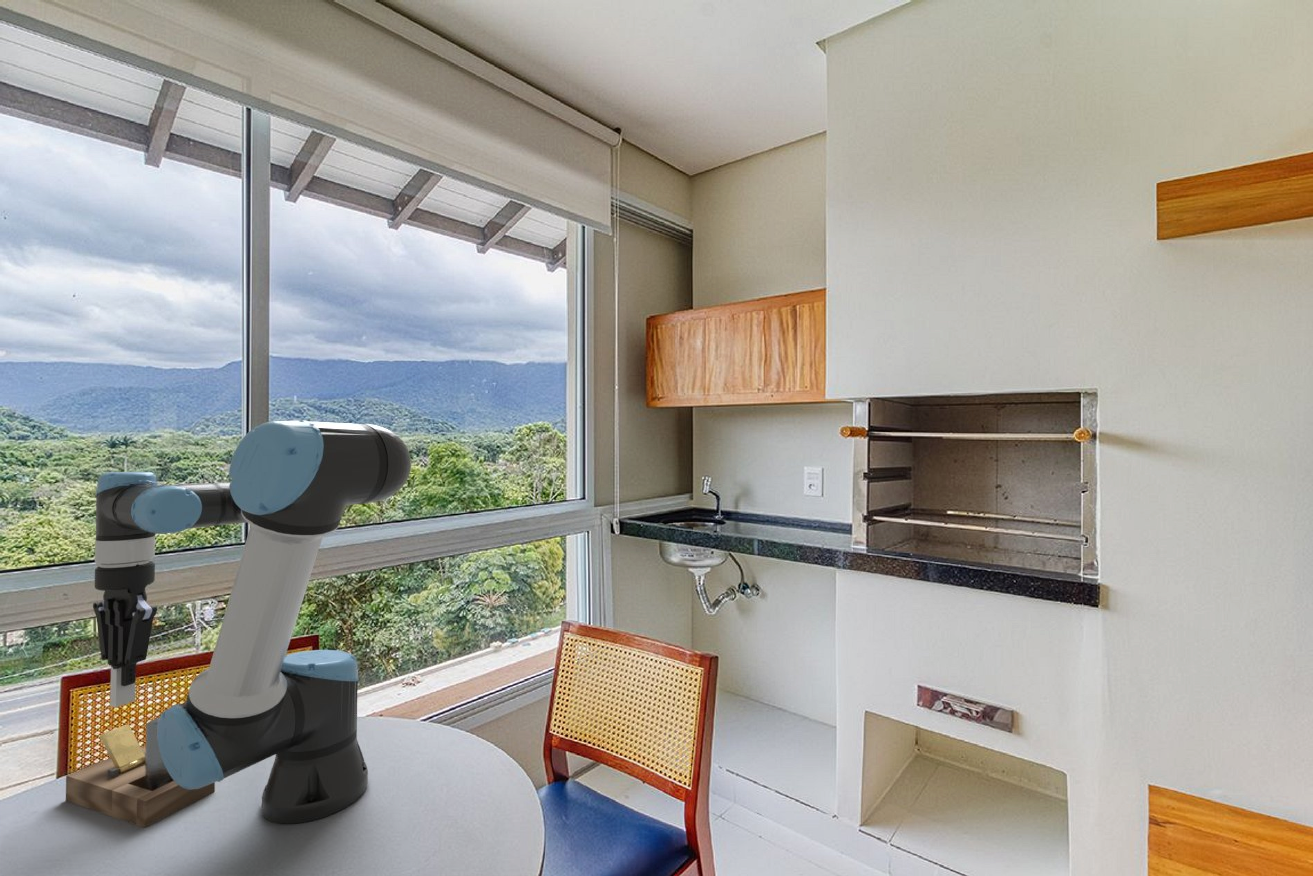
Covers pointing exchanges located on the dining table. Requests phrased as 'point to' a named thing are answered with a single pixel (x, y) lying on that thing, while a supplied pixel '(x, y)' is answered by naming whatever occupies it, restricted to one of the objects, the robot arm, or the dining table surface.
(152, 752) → the peg
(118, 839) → the dining table surface
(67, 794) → the block
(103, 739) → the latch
